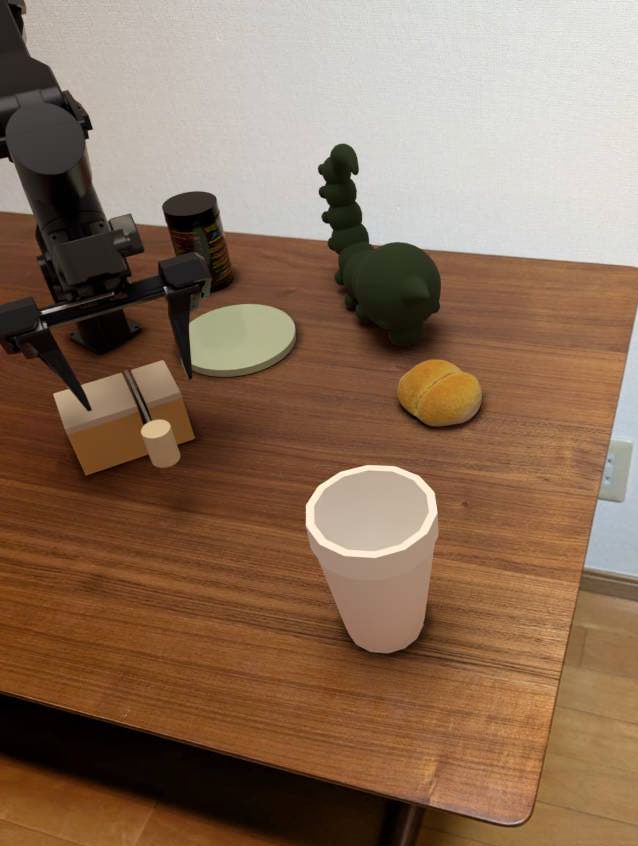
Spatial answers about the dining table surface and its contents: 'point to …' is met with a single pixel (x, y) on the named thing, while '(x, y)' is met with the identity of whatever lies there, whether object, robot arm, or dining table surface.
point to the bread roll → (439, 393)
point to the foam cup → (376, 551)
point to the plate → (240, 339)
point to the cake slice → (163, 398)
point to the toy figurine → (376, 260)
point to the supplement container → (199, 232)
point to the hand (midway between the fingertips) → (140, 394)
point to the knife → (156, 435)
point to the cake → (103, 424)
